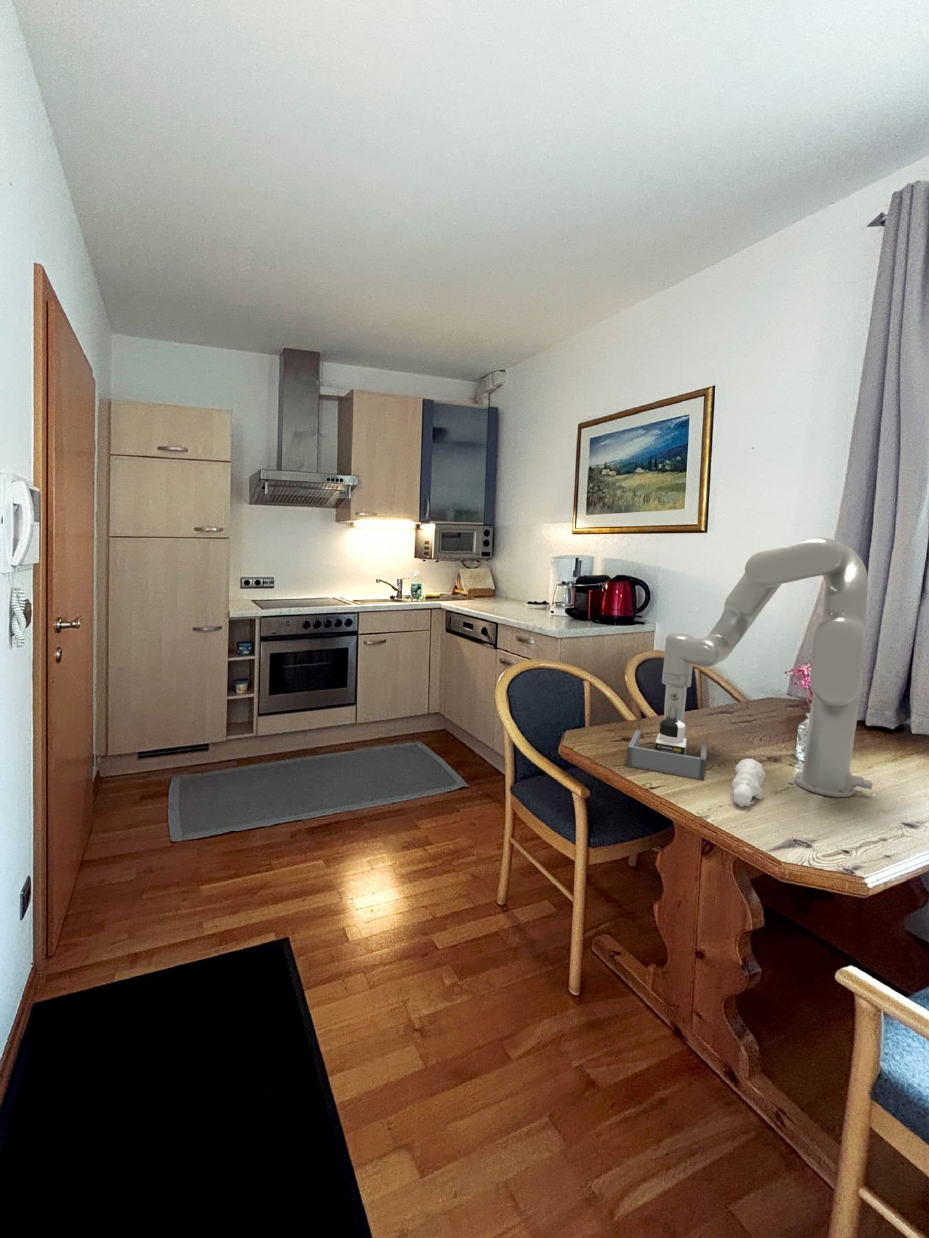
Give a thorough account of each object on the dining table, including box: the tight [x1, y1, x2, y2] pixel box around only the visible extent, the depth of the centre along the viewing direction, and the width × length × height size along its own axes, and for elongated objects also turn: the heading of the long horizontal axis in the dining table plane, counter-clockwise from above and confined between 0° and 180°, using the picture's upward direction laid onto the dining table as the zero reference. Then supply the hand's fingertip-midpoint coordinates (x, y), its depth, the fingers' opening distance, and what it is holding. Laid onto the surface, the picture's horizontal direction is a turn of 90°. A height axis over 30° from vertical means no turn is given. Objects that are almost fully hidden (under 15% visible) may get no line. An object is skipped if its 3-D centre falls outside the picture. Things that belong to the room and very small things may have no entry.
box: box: [626, 729, 708, 781], centre depth 157 cm, size 18×15×5 cm
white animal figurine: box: [730, 758, 766, 808], centre depth 135 cm, size 6×8×12 cm
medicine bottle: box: [654, 719, 687, 755], centre depth 154 cm, size 7×7×12 cm
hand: (670, 743), depth 167 cm, fingers closed
